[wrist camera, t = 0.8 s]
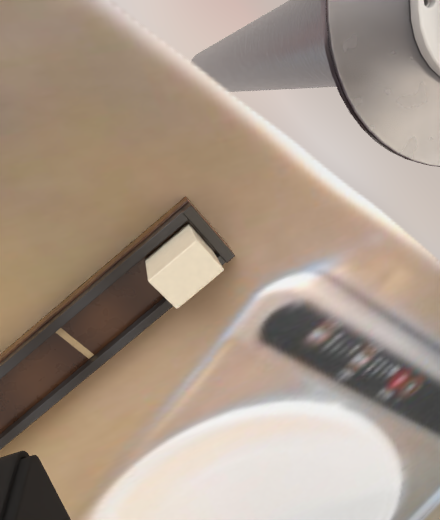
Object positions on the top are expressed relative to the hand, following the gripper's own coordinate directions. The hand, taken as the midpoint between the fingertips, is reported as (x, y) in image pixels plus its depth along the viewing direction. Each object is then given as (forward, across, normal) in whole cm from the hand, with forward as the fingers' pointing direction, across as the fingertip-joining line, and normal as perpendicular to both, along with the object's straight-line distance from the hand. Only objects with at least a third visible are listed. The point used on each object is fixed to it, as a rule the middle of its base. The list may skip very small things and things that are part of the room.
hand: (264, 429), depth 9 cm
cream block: (+21, 0, +4) cm, 21 cm away
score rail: (+22, +9, +8) cm, 25 cm away
